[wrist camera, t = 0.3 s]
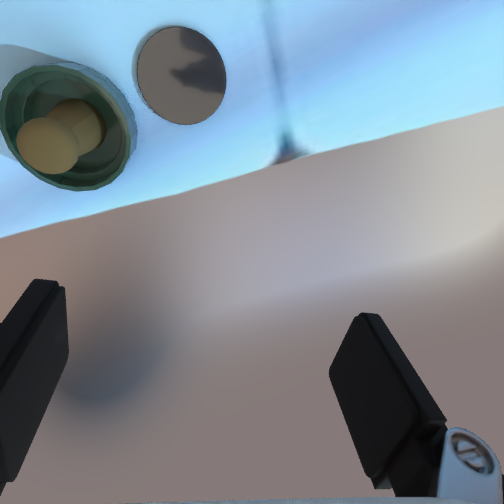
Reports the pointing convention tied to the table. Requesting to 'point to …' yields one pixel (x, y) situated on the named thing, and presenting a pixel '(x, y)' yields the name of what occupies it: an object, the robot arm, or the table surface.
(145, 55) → the coaster
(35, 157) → the cork
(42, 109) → the bowl
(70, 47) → the table surface
